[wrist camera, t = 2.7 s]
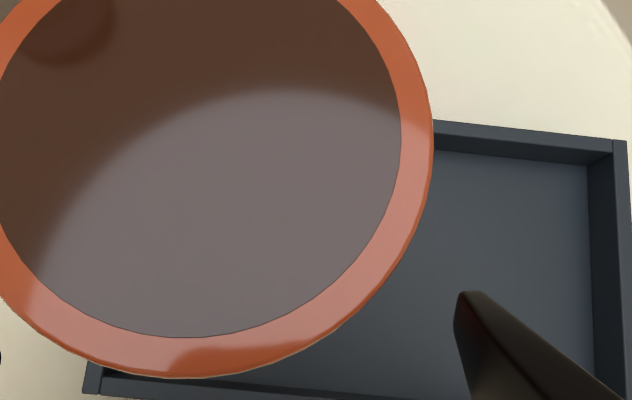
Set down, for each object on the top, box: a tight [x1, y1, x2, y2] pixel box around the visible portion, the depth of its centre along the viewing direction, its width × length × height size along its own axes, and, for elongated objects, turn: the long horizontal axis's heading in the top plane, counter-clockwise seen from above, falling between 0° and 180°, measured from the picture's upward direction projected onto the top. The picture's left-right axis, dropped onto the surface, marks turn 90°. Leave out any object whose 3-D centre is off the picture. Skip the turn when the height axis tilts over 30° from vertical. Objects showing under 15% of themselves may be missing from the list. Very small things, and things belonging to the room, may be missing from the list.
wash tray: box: [82, 119, 632, 400], centre depth 19 cm, size 19×11×2 cm, turn 84°
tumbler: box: [0, 0, 434, 379], centre depth 13 cm, size 7×7×13 cm
